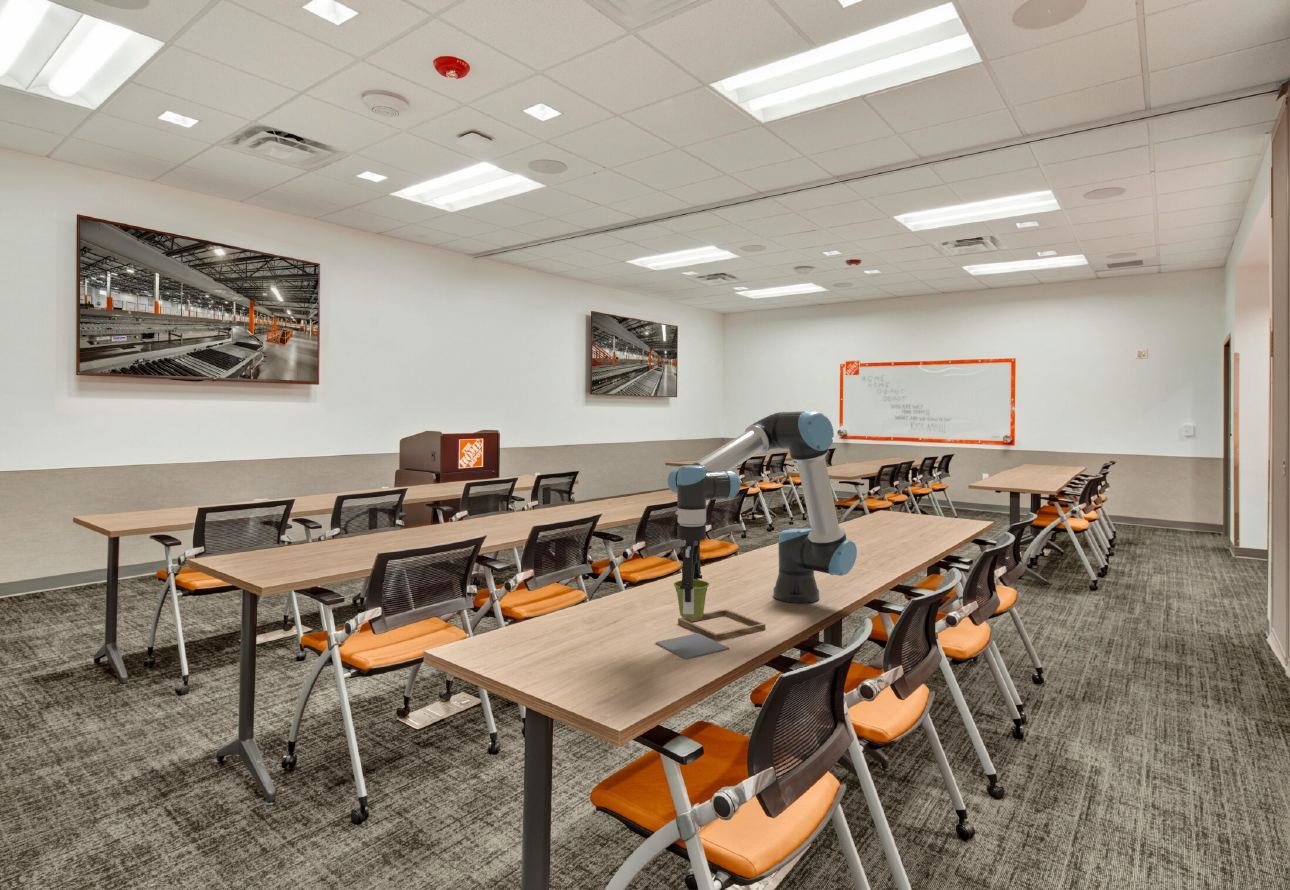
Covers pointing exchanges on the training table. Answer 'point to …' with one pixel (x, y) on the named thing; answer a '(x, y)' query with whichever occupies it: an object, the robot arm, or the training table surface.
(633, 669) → the training table surface
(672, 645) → the mat
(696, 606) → the plant pot
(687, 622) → the tray frame
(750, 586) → the training table surface
